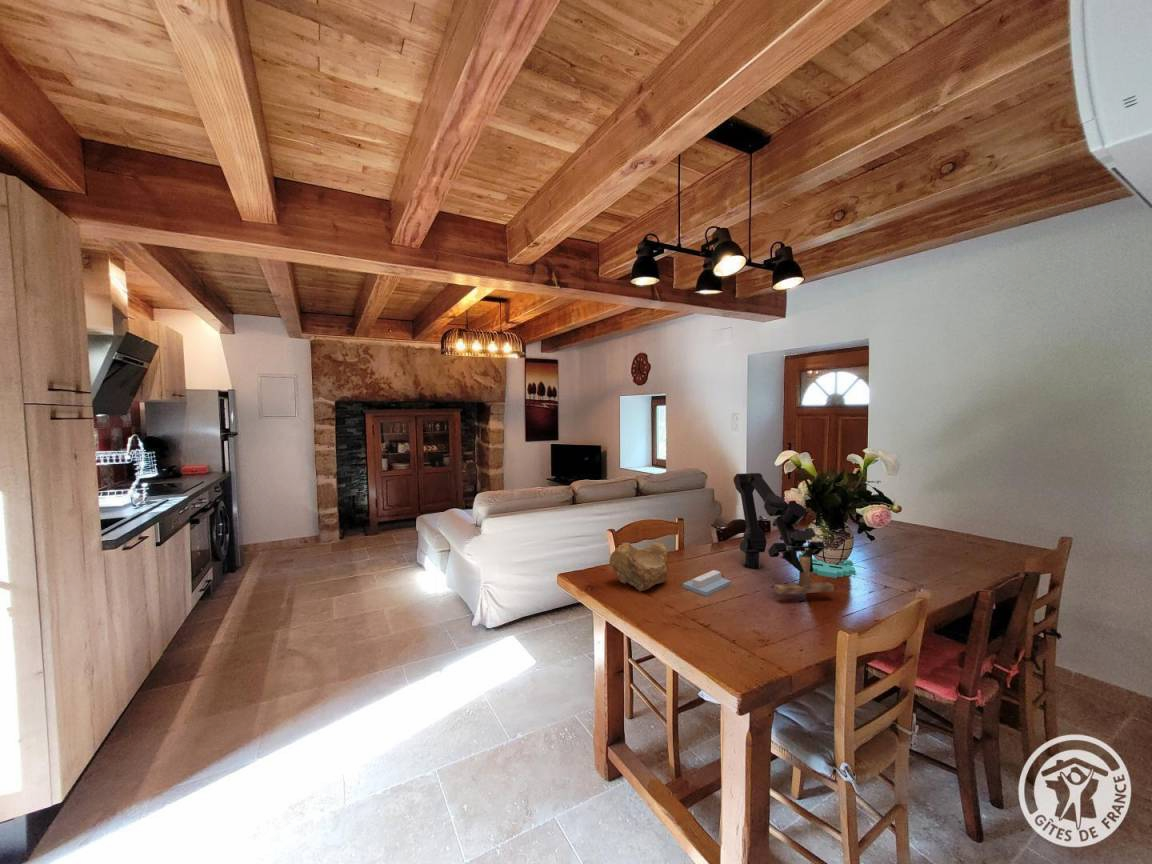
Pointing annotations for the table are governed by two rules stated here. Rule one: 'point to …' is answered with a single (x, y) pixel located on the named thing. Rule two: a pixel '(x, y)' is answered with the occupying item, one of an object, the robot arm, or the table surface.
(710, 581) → the stand
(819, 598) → the table surface
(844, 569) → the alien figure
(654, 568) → the rough brown rock
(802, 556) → the wooden bar with post
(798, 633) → the table surface
